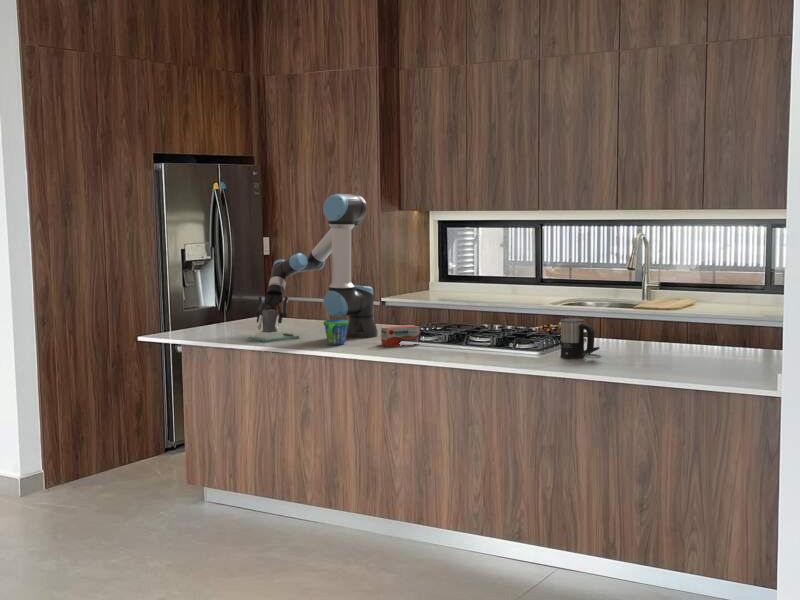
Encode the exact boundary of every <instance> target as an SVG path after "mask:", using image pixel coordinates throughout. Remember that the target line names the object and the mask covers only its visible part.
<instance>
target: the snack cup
mask: <svg viewBox="0 0 800 600" xmlns="http://www.w3.org/2000/svg"><path fill="white" fill-rule="evenodd" d="M323 325H324V328H325V329H324V330H325V335H326V341H327V344H328V345H330V346H342V345H344V344H345V343H346V339H347V338H346V332H347V325H348V319H339V318H338V319H327V320H324V321H323Z"/></svg>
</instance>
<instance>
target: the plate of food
mask: <svg viewBox="0 0 800 600" xmlns="http://www.w3.org/2000/svg"><path fill="white" fill-rule="evenodd" d="M535 328H537V329H538V330H541V331H550V330H553V331H561V321H560V322H558V325H556V324H555V325H553V324H550V323H546V324H544V323H543V324H541V326H536V327H535ZM584 333H587V331H586V330H585V329H584Z"/></svg>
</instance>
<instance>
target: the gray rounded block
mask: <svg viewBox="0 0 800 600" xmlns="http://www.w3.org/2000/svg"><path fill="white" fill-rule="evenodd" d="M276 319H277V310H275V309H267V310H262V331H263V332H267V333H270V332H277V330H276V328H275V324H276Z"/></svg>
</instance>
